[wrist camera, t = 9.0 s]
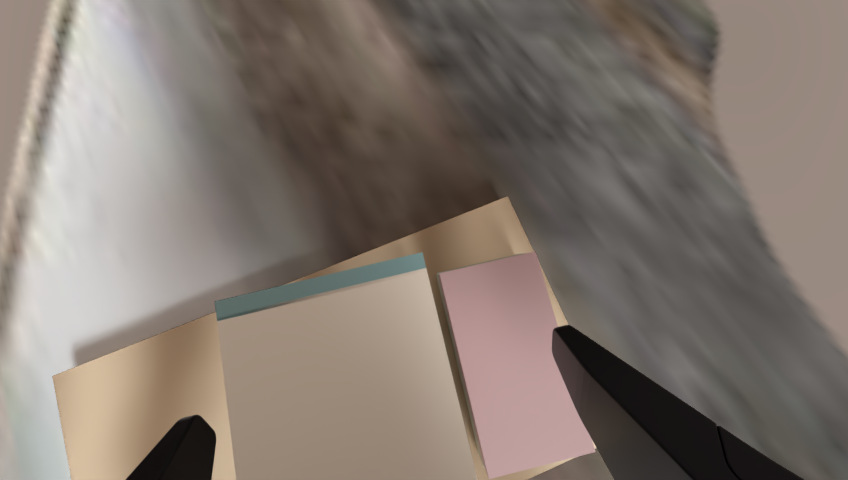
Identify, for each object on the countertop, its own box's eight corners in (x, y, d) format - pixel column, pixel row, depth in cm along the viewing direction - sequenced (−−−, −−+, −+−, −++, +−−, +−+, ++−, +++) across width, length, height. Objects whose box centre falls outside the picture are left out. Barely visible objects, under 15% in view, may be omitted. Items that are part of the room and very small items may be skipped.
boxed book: (457, 432, 16) (544, 755, 4) (387, 451, 16) (279, 834, 4) (425, 294, 17) (422, 252, 6) (359, 310, 17) (215, 301, 5)
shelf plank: (502, 203, 19) (507, 196, 18) (607, 427, 17) (621, 436, 16) (77, 372, 18) (52, 376, 17) (131, 644, 16) (106, 671, 14)
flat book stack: (566, 431, 16) (597, 457, 13) (478, 453, 16) (490, 485, 13) (516, 257, 18) (534, 246, 15) (436, 276, 17) (438, 268, 15)
